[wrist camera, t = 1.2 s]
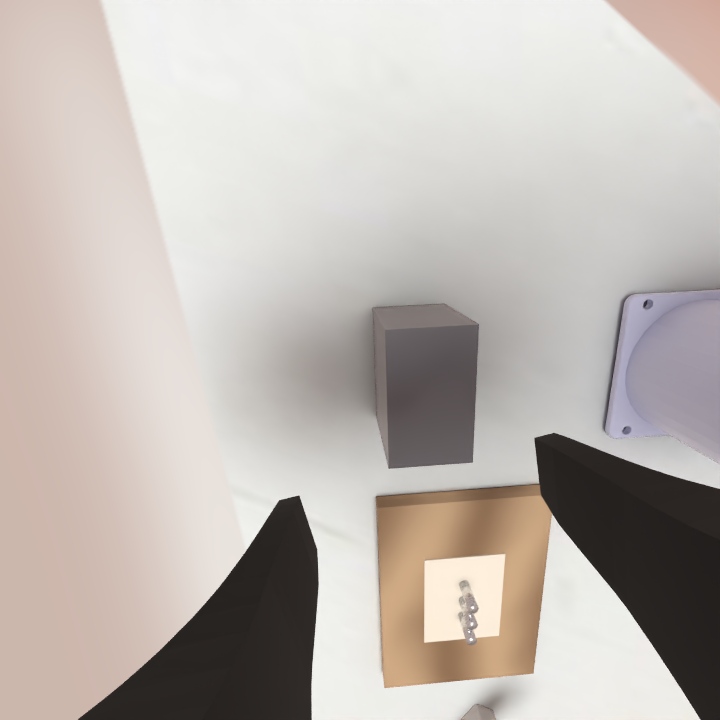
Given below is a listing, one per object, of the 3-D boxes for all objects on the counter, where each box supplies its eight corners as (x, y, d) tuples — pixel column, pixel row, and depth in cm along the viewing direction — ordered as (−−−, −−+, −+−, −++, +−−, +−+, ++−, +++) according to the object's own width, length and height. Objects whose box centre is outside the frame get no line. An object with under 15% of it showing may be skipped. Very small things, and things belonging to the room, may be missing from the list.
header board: (545, 483, 24) (571, 515, 21) (526, 658, 28) (546, 703, 25) (376, 496, 23) (381, 530, 20) (382, 672, 27) (387, 719, 25)
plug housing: (444, 303, 20) (478, 324, 15) (442, 413, 22) (472, 462, 17) (372, 307, 20) (385, 329, 15) (376, 417, 22) (388, 468, 17)
